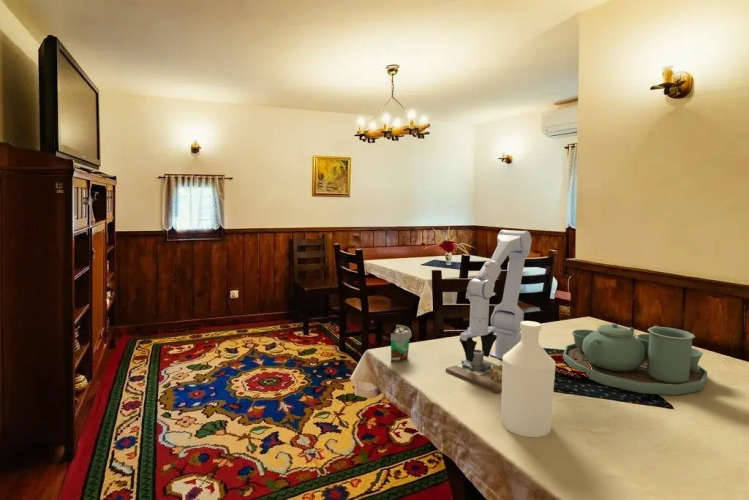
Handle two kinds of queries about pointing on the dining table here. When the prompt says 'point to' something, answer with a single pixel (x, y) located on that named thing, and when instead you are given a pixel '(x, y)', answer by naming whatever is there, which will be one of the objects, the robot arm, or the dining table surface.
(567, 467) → the dining table surface
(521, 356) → the bottle
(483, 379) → the carrier board
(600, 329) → the tea set
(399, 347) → the food container
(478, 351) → the planet gear
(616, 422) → the dining table surface
